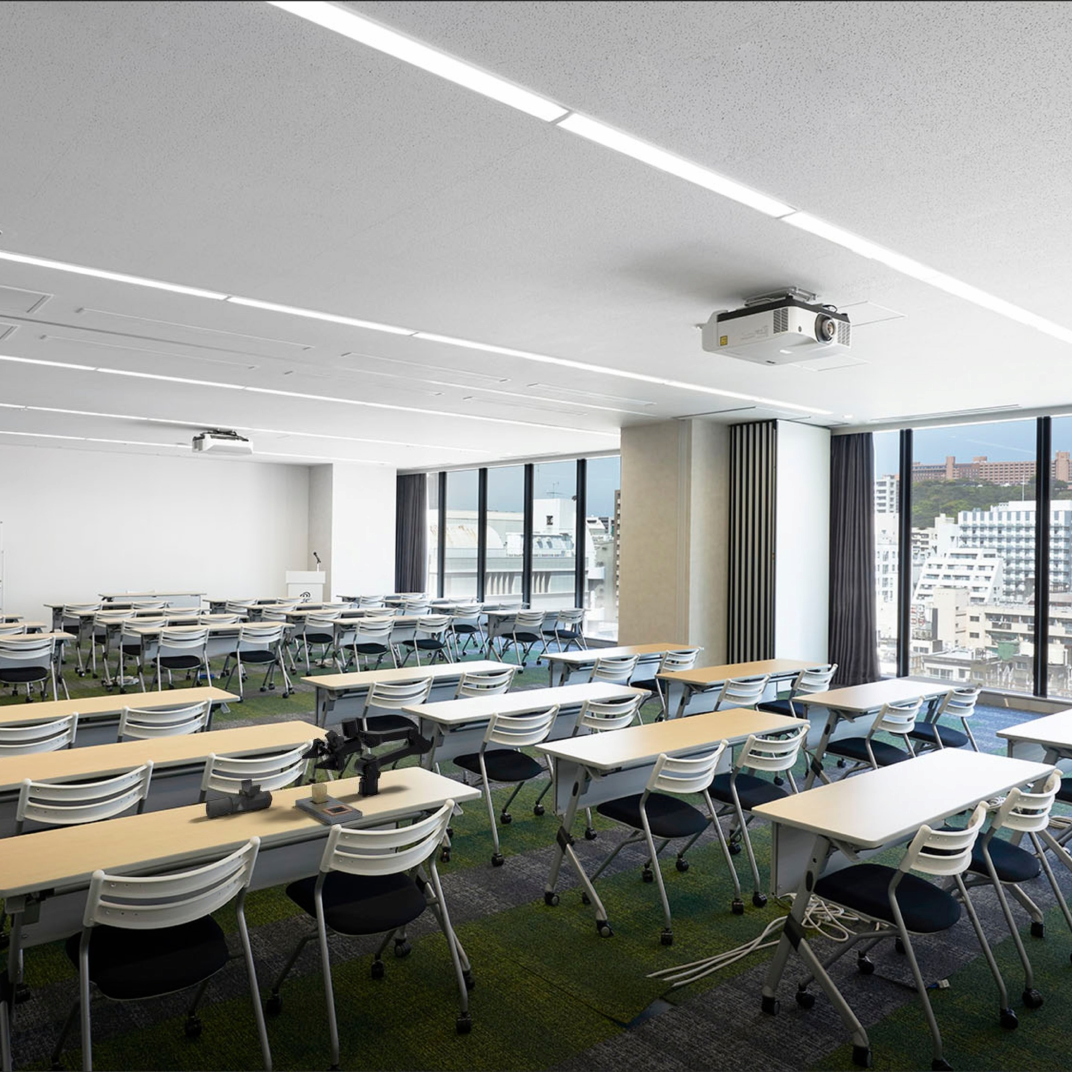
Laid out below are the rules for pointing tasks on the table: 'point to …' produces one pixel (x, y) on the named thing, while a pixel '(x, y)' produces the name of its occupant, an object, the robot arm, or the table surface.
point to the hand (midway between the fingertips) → (307, 762)
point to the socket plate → (329, 810)
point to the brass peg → (319, 793)
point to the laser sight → (240, 801)
